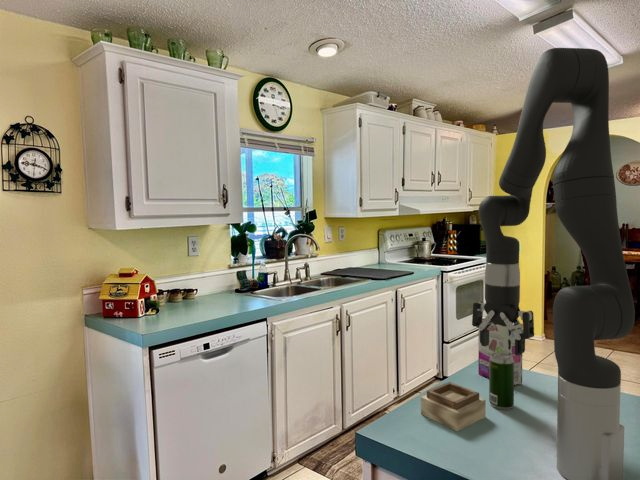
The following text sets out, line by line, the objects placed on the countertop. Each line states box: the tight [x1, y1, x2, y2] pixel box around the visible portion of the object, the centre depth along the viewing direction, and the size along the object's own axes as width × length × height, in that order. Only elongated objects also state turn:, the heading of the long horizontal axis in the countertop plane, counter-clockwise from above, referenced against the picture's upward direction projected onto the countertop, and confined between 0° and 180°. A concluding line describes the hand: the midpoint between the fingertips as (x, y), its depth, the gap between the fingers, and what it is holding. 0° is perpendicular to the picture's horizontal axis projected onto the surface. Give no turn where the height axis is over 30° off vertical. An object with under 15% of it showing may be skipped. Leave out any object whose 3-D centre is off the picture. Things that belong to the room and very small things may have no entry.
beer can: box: [488, 352, 515, 411], centre depth 103 cm, size 5×5×12 cm
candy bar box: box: [477, 315, 523, 387], centre depth 119 cm, size 11×5×16 cm, turn 25°
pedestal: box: [420, 381, 487, 432], centre depth 99 cm, size 10×10×6 cm
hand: (501, 350), depth 103 cm, fingers open, 8 cm apart
